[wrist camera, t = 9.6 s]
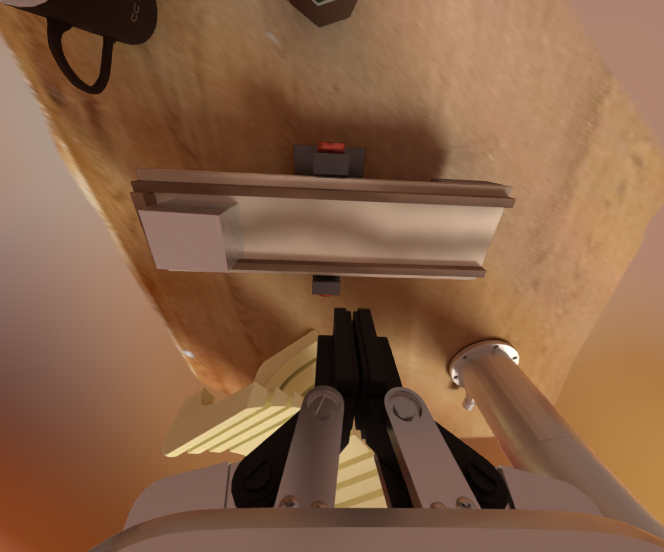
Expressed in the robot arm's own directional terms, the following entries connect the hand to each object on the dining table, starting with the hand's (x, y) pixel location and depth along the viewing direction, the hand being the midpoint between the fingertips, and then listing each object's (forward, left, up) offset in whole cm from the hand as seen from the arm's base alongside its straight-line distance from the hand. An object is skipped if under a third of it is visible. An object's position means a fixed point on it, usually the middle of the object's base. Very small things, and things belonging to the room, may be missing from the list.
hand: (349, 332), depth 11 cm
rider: (0, +12, -14) cm, 19 cm away
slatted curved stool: (-30, +4, -23) cm, 38 cm away
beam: (0, +1, -18) cm, 18 cm away
